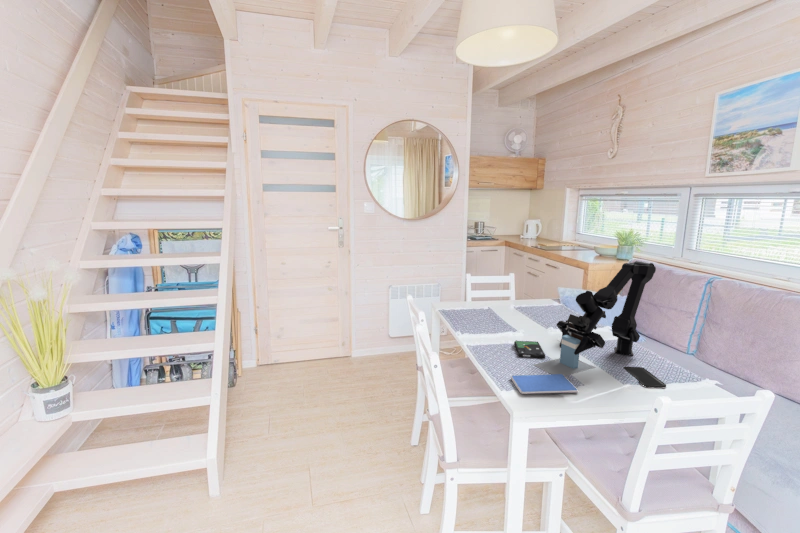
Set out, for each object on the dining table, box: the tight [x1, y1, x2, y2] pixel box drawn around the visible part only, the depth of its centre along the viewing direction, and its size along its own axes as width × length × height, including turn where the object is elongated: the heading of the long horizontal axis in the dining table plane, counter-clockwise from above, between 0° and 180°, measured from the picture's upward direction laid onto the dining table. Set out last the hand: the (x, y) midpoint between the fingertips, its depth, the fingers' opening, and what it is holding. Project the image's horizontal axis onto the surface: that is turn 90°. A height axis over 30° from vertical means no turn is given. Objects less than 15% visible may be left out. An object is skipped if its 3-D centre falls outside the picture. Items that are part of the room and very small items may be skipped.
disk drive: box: [513, 340, 546, 360], centre depth 166 cm, size 10×3×15 cm
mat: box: [533, 357, 596, 377], centre depth 151 cm, size 20×12×1 cm, turn 116°
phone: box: [623, 366, 667, 388], centre depth 143 cm, size 8×1×15 cm
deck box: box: [559, 335, 581, 369], centre depth 151 cm, size 3×6×11 cm, turn 26°
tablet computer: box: [510, 373, 579, 395], centre depth 136 cm, size 19×13×1 cm, turn 91°
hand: (567, 350), depth 150 cm, fingers closed on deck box, 6 cm apart
